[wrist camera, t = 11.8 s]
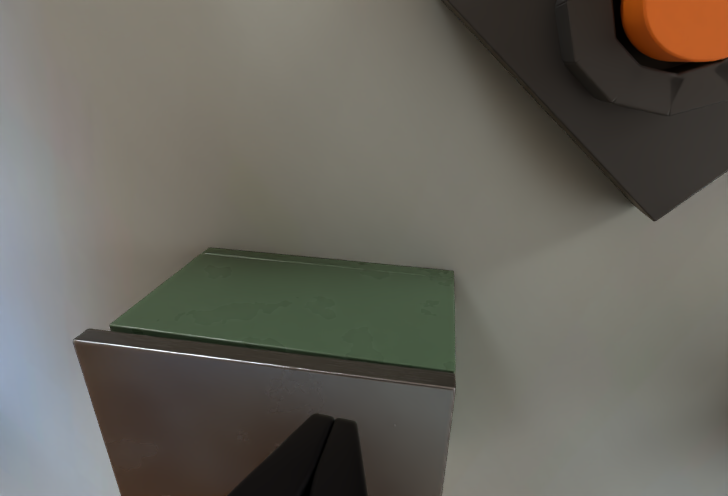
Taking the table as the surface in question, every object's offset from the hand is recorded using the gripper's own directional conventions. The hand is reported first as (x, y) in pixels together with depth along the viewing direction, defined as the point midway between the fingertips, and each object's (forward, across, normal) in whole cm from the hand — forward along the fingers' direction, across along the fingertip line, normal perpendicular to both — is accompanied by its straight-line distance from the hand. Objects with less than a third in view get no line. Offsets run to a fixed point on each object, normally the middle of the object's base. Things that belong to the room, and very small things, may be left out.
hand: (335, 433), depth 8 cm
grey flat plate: (+5, +4, +9) cm, 11 cm away
